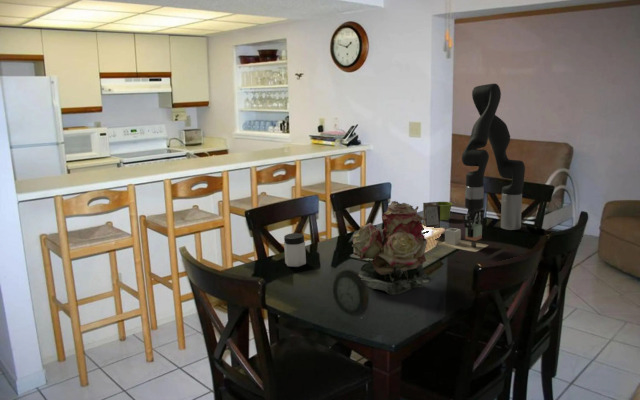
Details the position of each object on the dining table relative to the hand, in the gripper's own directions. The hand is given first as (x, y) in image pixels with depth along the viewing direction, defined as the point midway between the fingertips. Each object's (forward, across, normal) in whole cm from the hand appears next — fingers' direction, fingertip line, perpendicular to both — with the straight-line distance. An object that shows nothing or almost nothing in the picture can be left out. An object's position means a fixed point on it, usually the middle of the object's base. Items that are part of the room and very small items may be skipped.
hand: (473, 235), depth 223 cm
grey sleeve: (+5, 0, -10) cm, 11 cm away
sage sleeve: (+1, 0, 0) cm, 1 cm away
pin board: (+6, 0, -5) cm, 8 cm away
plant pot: (+6, -37, -37) cm, 53 cm away
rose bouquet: (+7, +50, -5) cm, 51 cm away
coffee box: (+7, -5, -24) cm, 25 cm away
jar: (+7, +59, -49) cm, 77 cm away
